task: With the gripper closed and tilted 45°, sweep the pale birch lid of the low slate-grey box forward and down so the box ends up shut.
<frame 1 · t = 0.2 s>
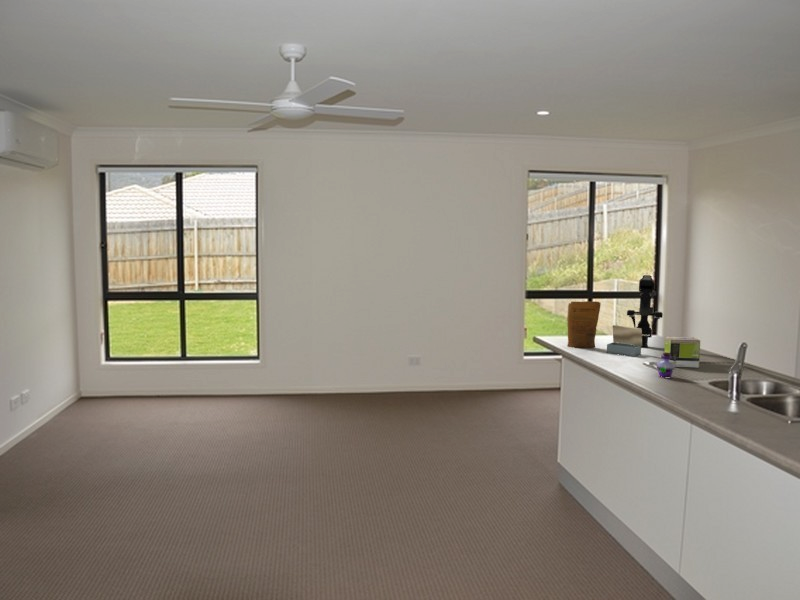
hand: (643, 328, 359), 15 cm above the countertop, tool pointing down, fingers open, 9 cm apart
pancake mix bag: (581, 347, 379), on the countertop
tea box: (680, 366, 333), on the countertop
slate box: (623, 353, 362), on the countertop
potion bottle: (664, 377, 305), on the countertop
birch lid: (627, 335, 364), point 10 cm above the countertop, hinge at 72.7°
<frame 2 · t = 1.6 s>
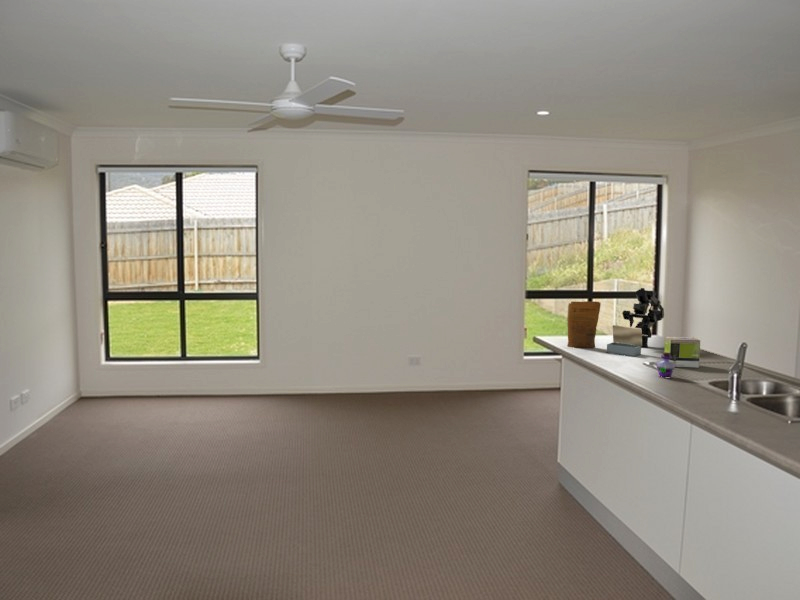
hand: (635, 327, 373), 14 cm above the countertop, tool tilted 45°, fingers open, 5 cm apart
nothing on the countertop moved.
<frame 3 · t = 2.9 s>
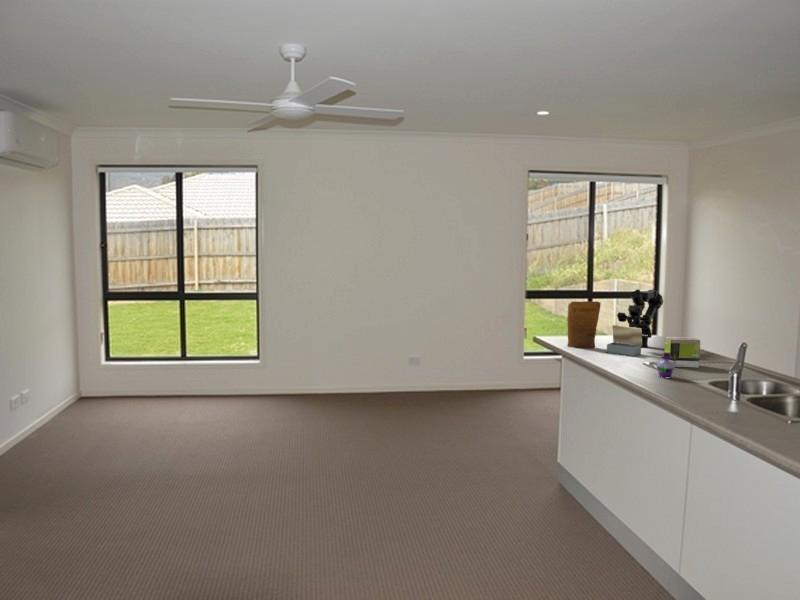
hand: (629, 329, 367), 13 cm above the countertop, tool tilted 45°, fingers closed
nothing on the countertop moved.
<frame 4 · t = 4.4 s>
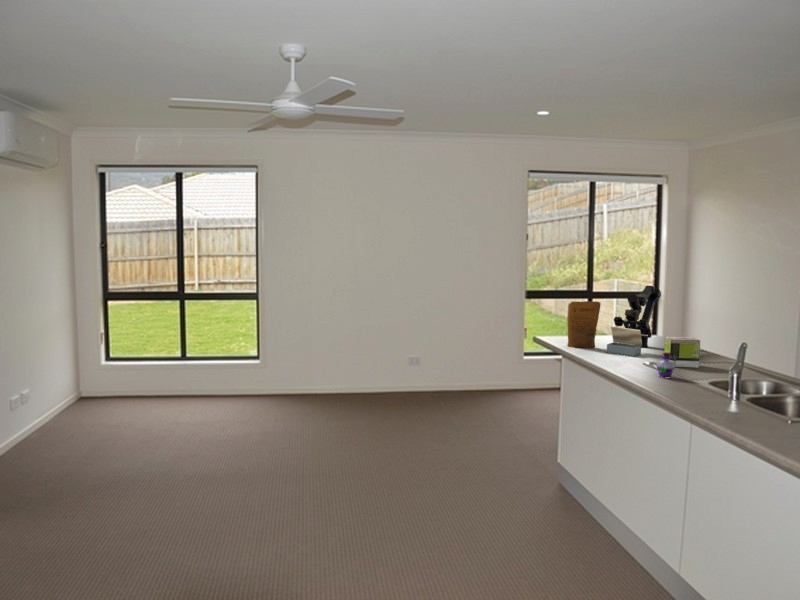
hand: (626, 334, 363), 11 cm above the countertop, tool tilted 45°, fingers closed, pressing on birch lid
birch lid: (626, 336, 363), point 10 cm above the countertop, hinge at 61.3°, touching gripper
everything else where it was.
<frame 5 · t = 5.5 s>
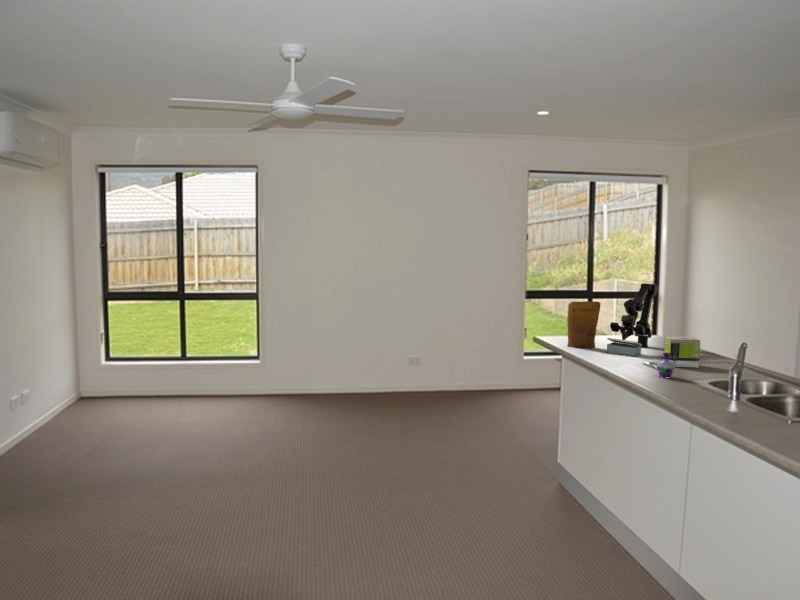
hand: (622, 340, 359), 8 cm above the countertop, tool tilted 45°, fingers closed, pressing on birch lid
birch lid: (624, 341, 361), point 7 cm above the countertop, hinge at 15.9°, touching gripper
everything else where it was.
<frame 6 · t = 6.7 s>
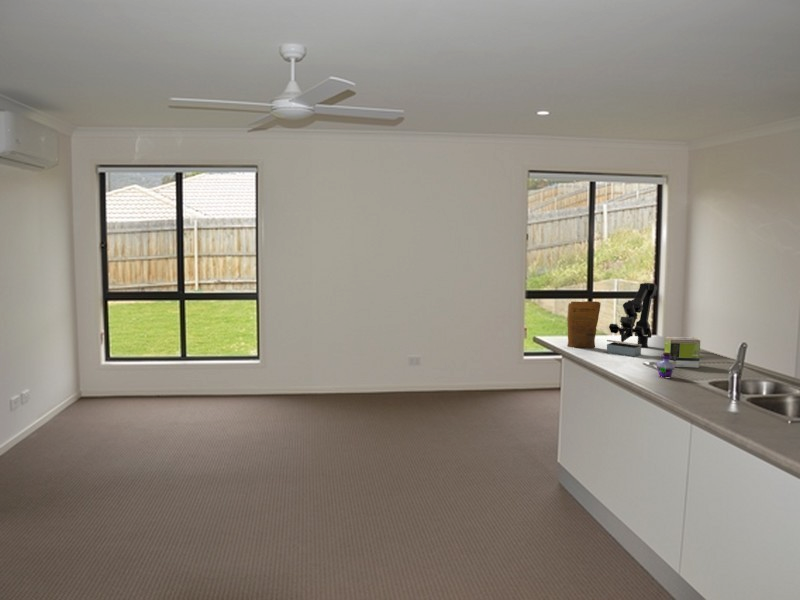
hand: (621, 341, 358), 8 cm above the countertop, tool tilted 45°, fingers closed, pressing on birch lid
birch lid: (624, 342, 361), point 6 cm above the countertop, hinge at 9.7°, touching gripper
everything else where it was.
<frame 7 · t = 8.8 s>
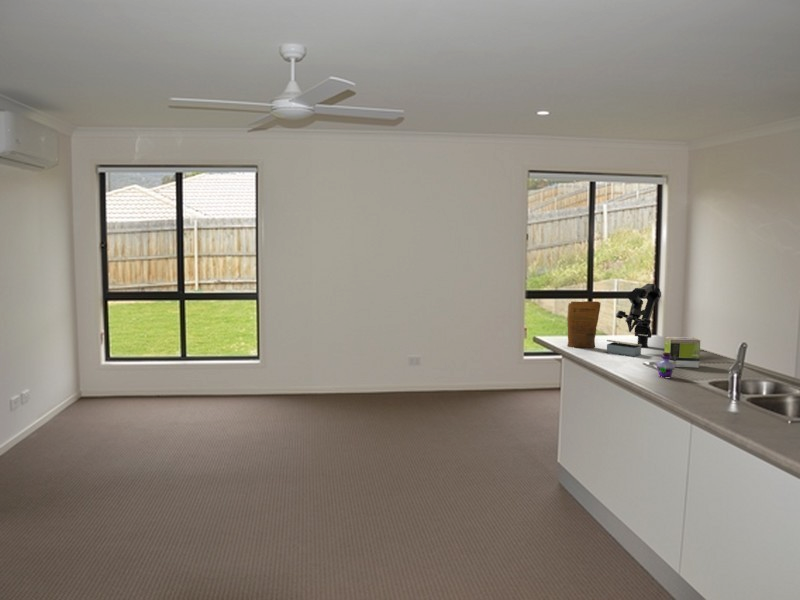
hand: (629, 331, 367), 12 cm above the countertop, tool tilted 30°, fingers closed
birch lid: (624, 342, 361), point 6 cm above the countertop, hinge at 9.7°
everything else where it was.
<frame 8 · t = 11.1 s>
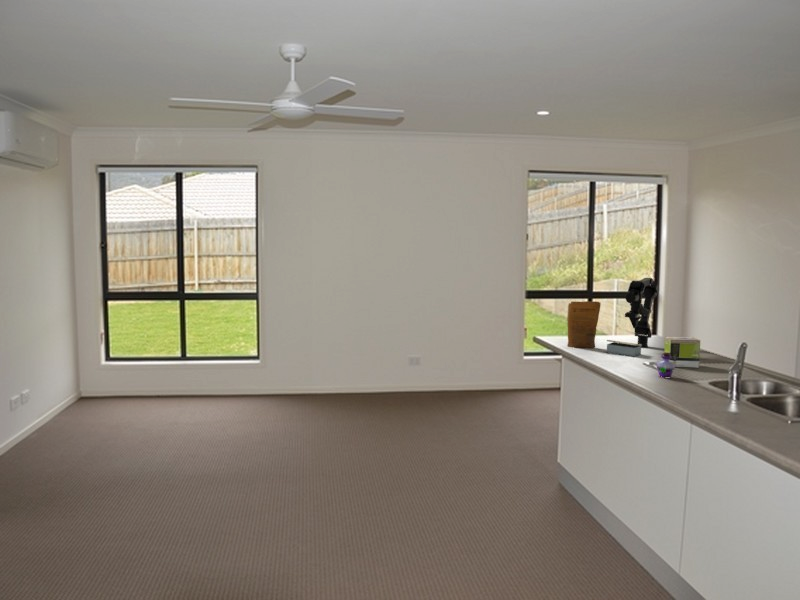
hand: (634, 328, 373), 13 cm above the countertop, tool pointing down, fingers closed
nothing on the countertop moved.
at the end: birch lid at +10° (first picture: +73°); tea box moved 0.3 cm from its start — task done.
